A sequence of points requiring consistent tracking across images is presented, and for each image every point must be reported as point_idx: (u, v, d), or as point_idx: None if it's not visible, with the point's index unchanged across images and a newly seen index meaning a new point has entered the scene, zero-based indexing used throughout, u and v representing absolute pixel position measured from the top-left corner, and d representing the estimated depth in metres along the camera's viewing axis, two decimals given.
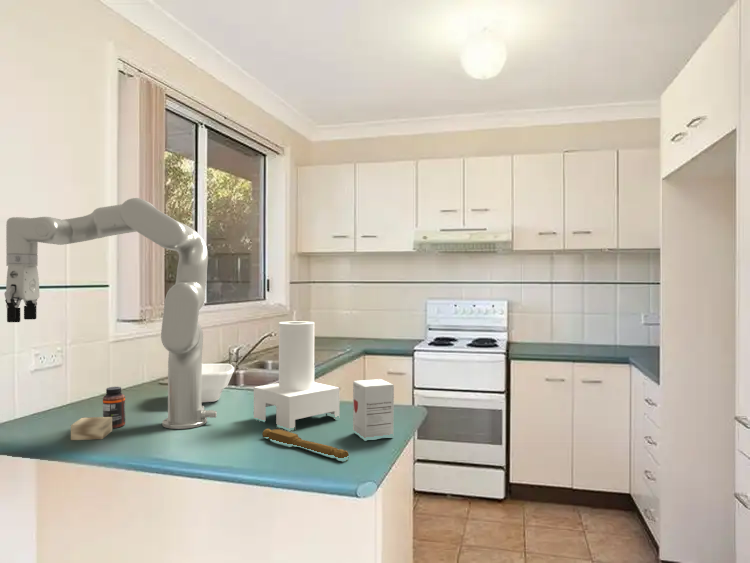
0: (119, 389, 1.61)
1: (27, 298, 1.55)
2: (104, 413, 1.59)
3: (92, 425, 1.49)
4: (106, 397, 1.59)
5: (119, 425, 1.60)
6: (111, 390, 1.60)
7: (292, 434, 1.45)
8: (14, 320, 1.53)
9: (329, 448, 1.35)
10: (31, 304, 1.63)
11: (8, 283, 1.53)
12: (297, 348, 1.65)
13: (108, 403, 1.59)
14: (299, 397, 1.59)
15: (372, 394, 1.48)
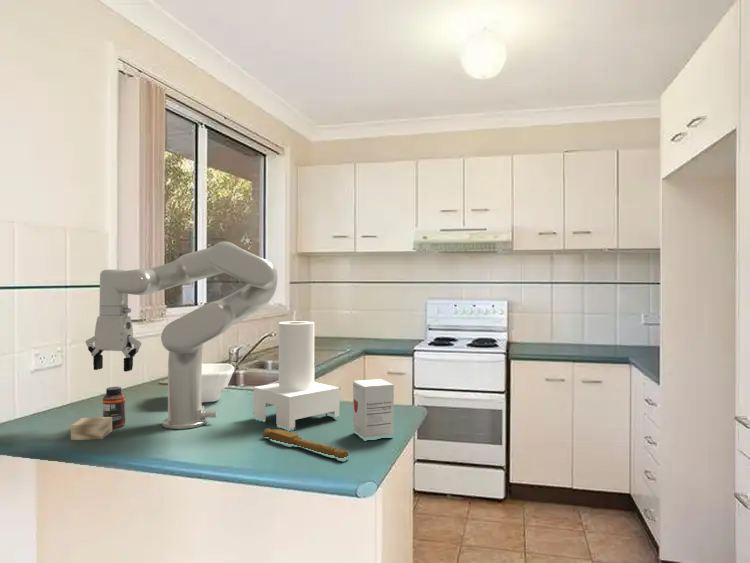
0: (119, 389, 1.61)
1: None
2: (104, 413, 1.59)
3: (92, 425, 1.49)
4: (106, 397, 1.59)
5: (119, 425, 1.60)
6: (111, 390, 1.60)
7: (292, 434, 1.45)
8: (129, 369, 1.61)
9: (329, 448, 1.35)
10: (99, 354, 1.63)
11: (125, 334, 1.59)
12: (297, 348, 1.65)
13: (108, 403, 1.59)
14: (299, 397, 1.59)
15: (372, 394, 1.48)
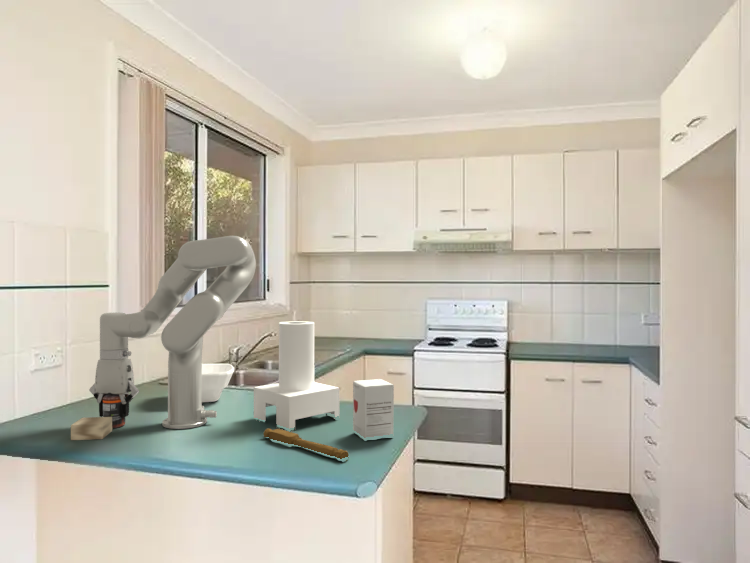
0: None
1: None
2: (104, 413, 1.59)
3: (92, 425, 1.49)
4: (106, 397, 1.59)
5: (119, 425, 1.60)
6: None
7: (293, 434, 1.45)
8: (125, 414, 1.61)
9: (329, 448, 1.35)
10: None
11: (126, 378, 1.59)
12: (297, 348, 1.65)
13: (108, 403, 1.59)
14: (299, 397, 1.59)
15: (372, 394, 1.48)
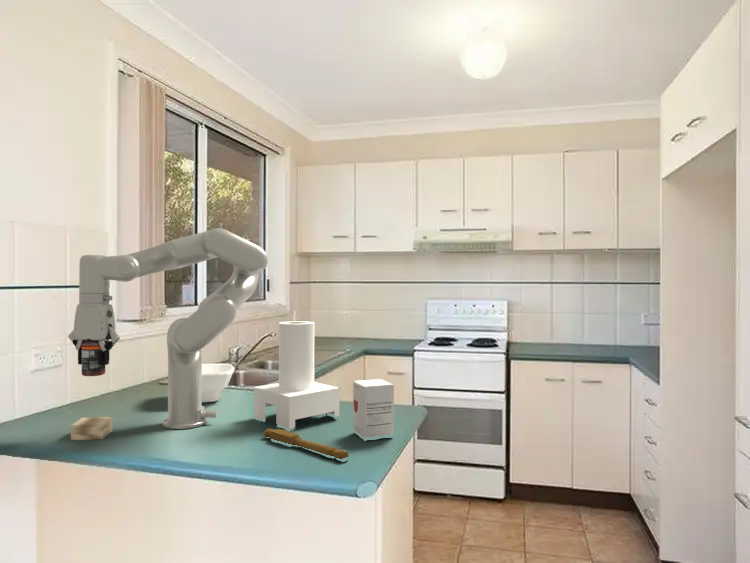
0: None
1: None
2: (83, 360, 1.51)
3: (92, 425, 1.49)
4: (85, 343, 1.51)
5: (98, 373, 1.51)
6: None
7: (293, 434, 1.45)
8: (105, 363, 1.53)
9: (329, 448, 1.34)
10: None
11: (106, 323, 1.51)
12: (297, 348, 1.65)
13: (86, 350, 1.50)
14: (299, 397, 1.59)
15: (372, 394, 1.48)
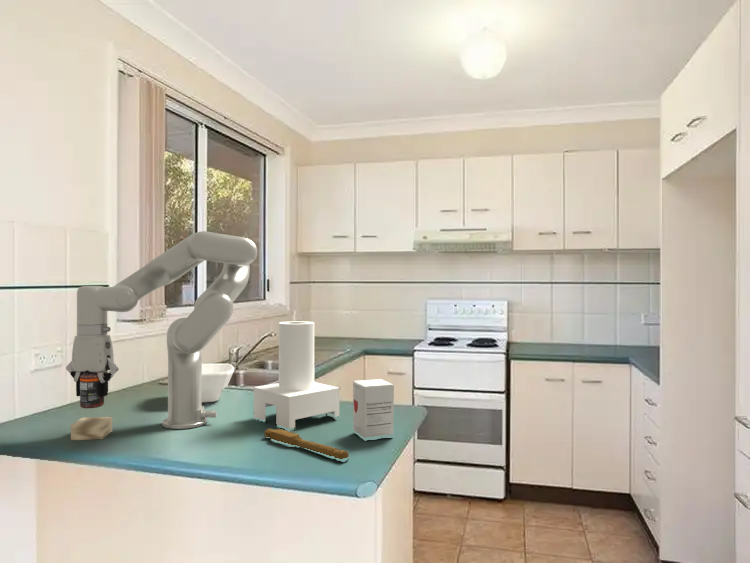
0: None
1: None
2: (81, 392, 1.50)
3: (92, 425, 1.49)
4: (83, 375, 1.50)
5: (97, 405, 1.51)
6: None
7: (293, 434, 1.45)
8: (104, 394, 1.52)
9: (329, 448, 1.34)
10: None
11: (104, 355, 1.50)
12: (297, 348, 1.65)
13: (85, 382, 1.49)
14: (299, 397, 1.59)
15: (372, 394, 1.48)
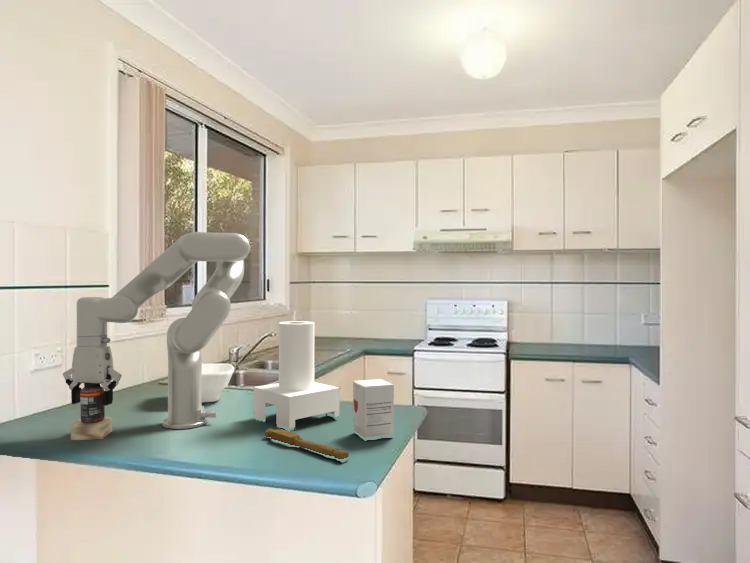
0: None
1: None
2: (82, 407, 1.50)
3: (92, 425, 1.49)
4: (84, 390, 1.50)
5: (98, 419, 1.51)
6: None
7: (294, 434, 1.45)
8: (109, 402, 1.52)
9: (329, 449, 1.34)
10: (78, 386, 1.54)
11: (104, 366, 1.50)
12: (298, 348, 1.65)
13: (85, 396, 1.50)
14: (299, 397, 1.59)
15: (372, 394, 1.48)
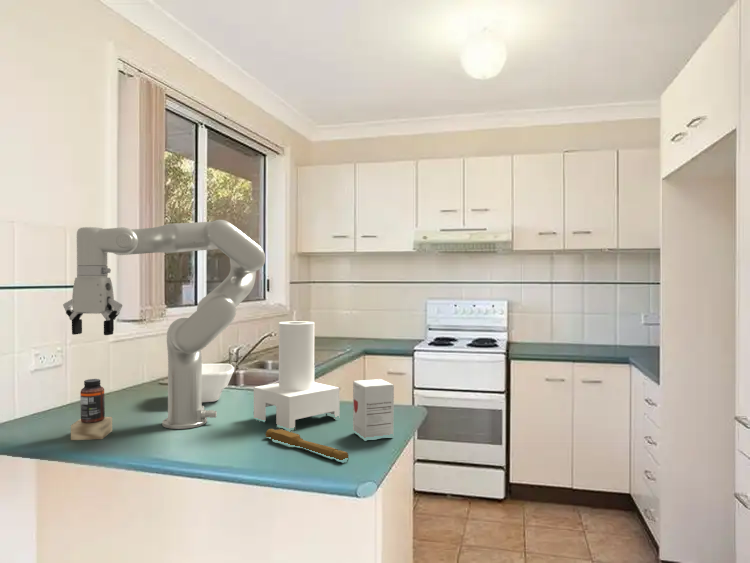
0: (98, 381, 1.52)
1: None
2: (82, 407, 1.50)
3: (92, 425, 1.49)
4: (84, 390, 1.50)
5: (98, 419, 1.51)
6: (89, 382, 1.50)
7: (294, 434, 1.45)
8: (110, 332, 1.52)
9: (329, 449, 1.34)
10: (78, 318, 1.53)
11: (105, 295, 1.50)
12: (297, 348, 1.65)
13: (86, 396, 1.50)
14: (299, 397, 1.59)
15: (372, 394, 1.48)
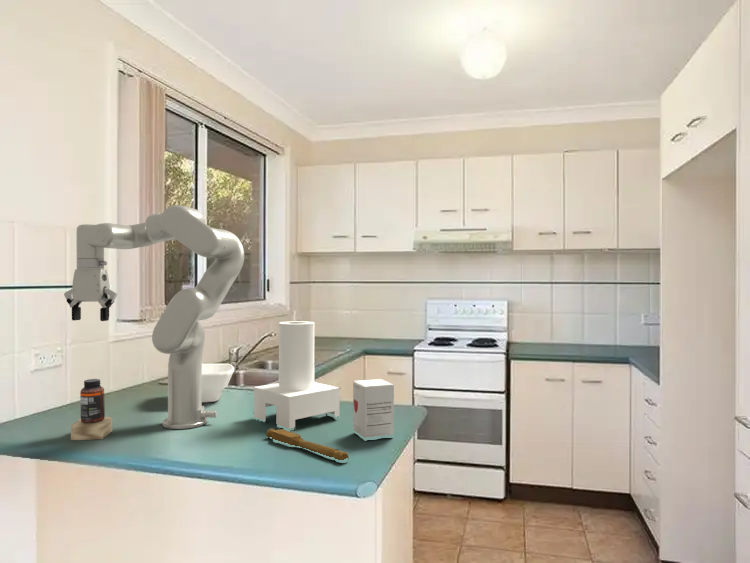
0: (98, 381, 1.52)
1: None
2: (82, 407, 1.50)
3: (92, 425, 1.49)
4: (84, 390, 1.50)
5: (98, 419, 1.51)
6: (89, 382, 1.50)
7: (294, 434, 1.44)
8: (106, 319, 1.69)
9: (329, 449, 1.34)
10: (77, 305, 1.71)
11: (101, 285, 1.68)
12: (298, 348, 1.65)
13: (85, 396, 1.50)
14: (299, 397, 1.59)
15: (372, 394, 1.48)
